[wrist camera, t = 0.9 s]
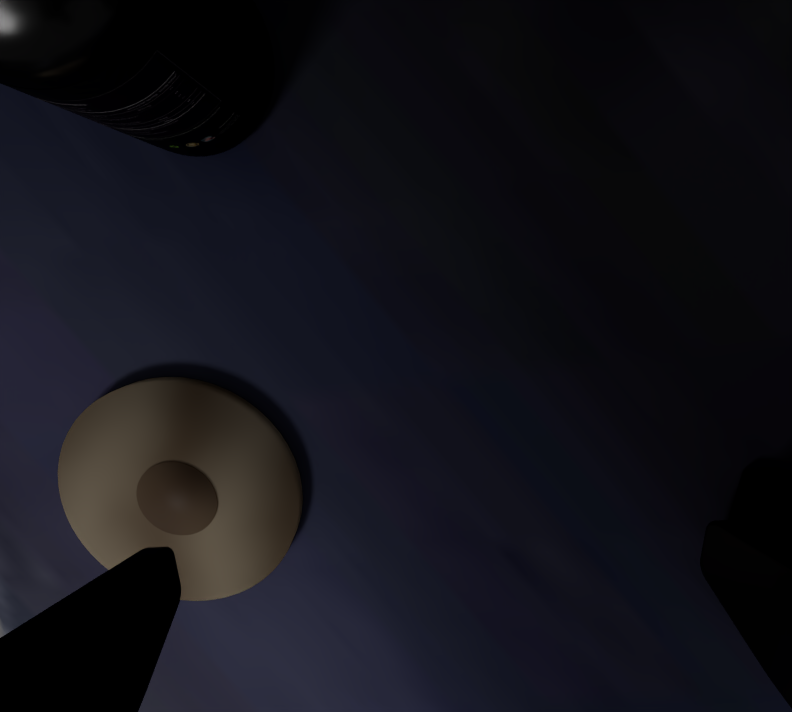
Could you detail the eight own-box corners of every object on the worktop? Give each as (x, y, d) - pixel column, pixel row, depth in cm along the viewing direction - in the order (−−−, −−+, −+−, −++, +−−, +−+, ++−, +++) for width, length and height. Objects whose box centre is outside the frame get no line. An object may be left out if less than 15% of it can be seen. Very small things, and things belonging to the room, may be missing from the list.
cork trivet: (306, 389, 19) (301, 395, 19) (298, 599, 22) (294, 613, 21) (59, 365, 20) (42, 370, 19) (82, 576, 23) (69, 589, 22)
